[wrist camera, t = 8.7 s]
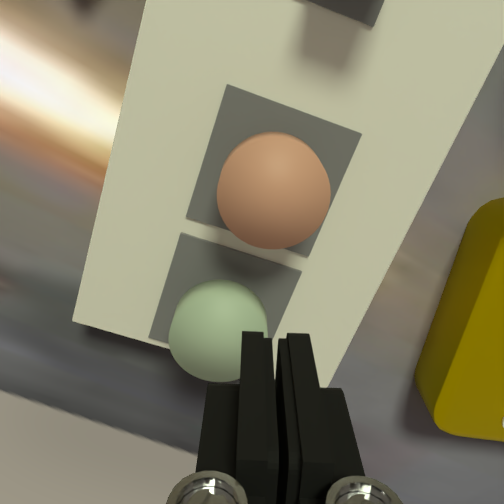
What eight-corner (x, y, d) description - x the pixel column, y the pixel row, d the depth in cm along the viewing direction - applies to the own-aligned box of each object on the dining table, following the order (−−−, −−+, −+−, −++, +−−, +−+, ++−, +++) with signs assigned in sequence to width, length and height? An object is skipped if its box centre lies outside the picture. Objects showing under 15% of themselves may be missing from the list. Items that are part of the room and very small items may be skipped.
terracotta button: (206, 215, 23) (202, 229, 21) (239, 115, 21) (237, 122, 19) (301, 246, 24) (305, 262, 22) (341, 152, 22) (349, 162, 20)
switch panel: (88, 296, 30) (70, 322, 27) (236, -317, 19) (233, -384, 16) (317, 364, 32) (324, 395, 29) (572, -153, 21) (624, -186, 18)
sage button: (164, 344, 26) (157, 366, 24) (189, 267, 24) (184, 285, 22) (249, 369, 27) (248, 392, 25) (280, 295, 25) (282, 315, 23)
